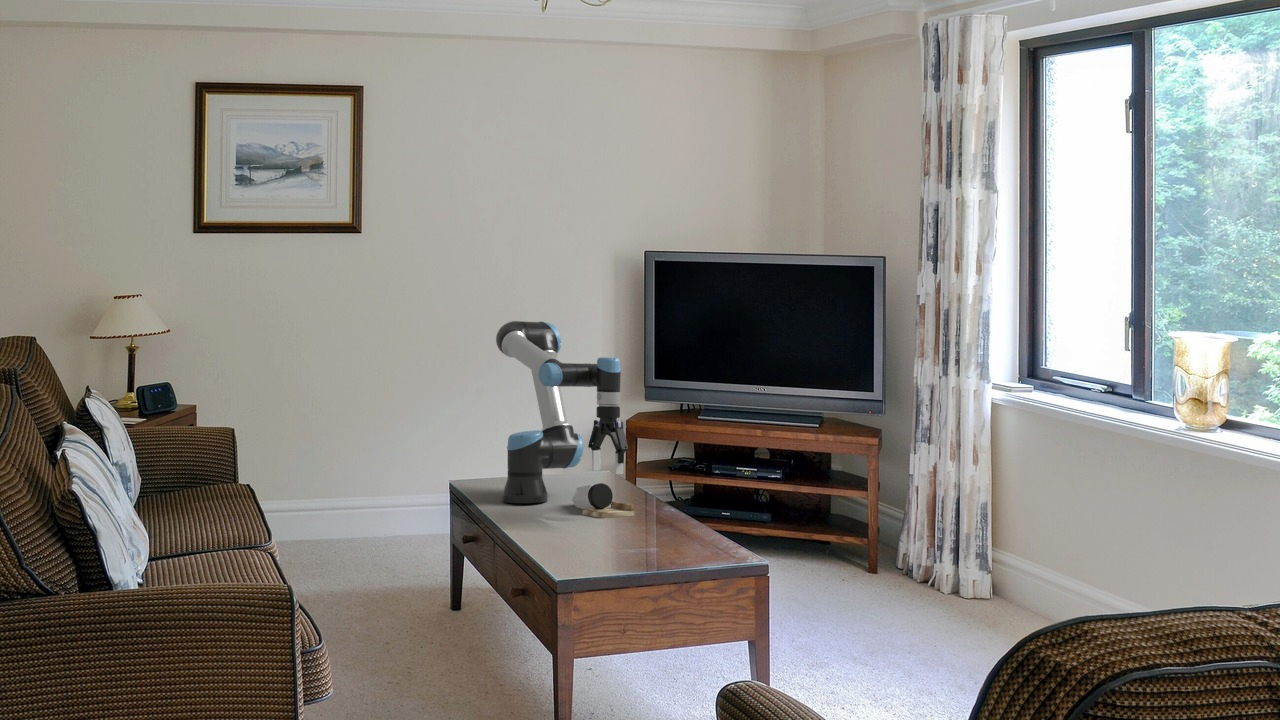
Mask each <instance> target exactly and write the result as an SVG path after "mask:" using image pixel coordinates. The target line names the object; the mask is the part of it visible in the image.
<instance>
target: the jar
mask: <svg viewBox="0 0 1280 720" xmlns="http://www.w3.org/2000/svg"><path fill="white" fill-rule="evenodd" d="M613 496H614V495H613V492H612V489H611V488H610V486H609V485H607V484H606V483H604V482H600V483H595V484H587V485H584V486H579V487H576V488H575V491H574V494H573V496H572V499H571V501H572V503H573V505H574V506H575V508H579V509H581V510H583V509H603V508H609V506H611V502H613V498H614V497H613Z"/></svg>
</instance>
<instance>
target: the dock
mask: <svg viewBox="0 0 1280 720" xmlns="http://www.w3.org/2000/svg"><path fill="white" fill-rule="evenodd" d="M581 511H582V513H583V514H582V515H584V514H585V515H584V516H589V517H594V518H599V519H610V518H620V517H621V518H622V517H623V518H624V517H635V504H632V503H626V502H625V503H624V502H619V501H612V502H611V504H610V507H606V508H603V509H581Z"/></svg>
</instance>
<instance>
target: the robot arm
mask: <svg viewBox="0 0 1280 720" xmlns="http://www.w3.org/2000/svg"><path fill="white" fill-rule="evenodd" d="M496 333H497V334H496V336H495V344H496V347H497V348H498V350H499V351H500V352H501V353H502V354H503V355H505V356H506V357H509V358H514V359H516V360H517V361H518V362H519V363H521V364H523V365H524V366H526V368H529V369H530V371H531V375H532V381H533V385H534V390H535V394H536V395H535V396H536V400H537V405H538V410H539V415H540V420H541V424H542V428H541V430H527V431H526V430H525V431H519V432H514V433H512V434H510V435H509V436H508V438H507V447H506V448H507V449H506V450H507V480H506V482H505V485H504V489H503V491H502V494H501V500H502V502H503V503H509V504H537V503H538V504H539V503H546V502H548V501H549V500H548V491H547V487H546V486H545V482H544V479H543V469H544V470H546V469H547V470H548V469H549V470H551V469H552V470H553V469H568V468H575V467H576V466H578V465H579V463H580V462H581V461H582V457H583V454H584V448H585V447H584V441H583V437H582V436H581V435H580V433H579V434H578V433H577V432H575V430H574V427H573V424H570V423H569V422H568V419H567V415H566V410H565V406H564V405H565V404H564V401H563V397H562V396H563V395H562V392H561V387H563V388H565V387H567V388H568V387H576V388H577V387H580V388H581V387H583V388H592V387H593V388H594V387H595V388H596V405H598V406H597V407H596V417H597V418H598V419H594V420H593V427H592V430H591V435H590V437H589V440H588V441H589V442H588V446H587V447H588V448H589V449H591V451H592V452H591V453H592V454H591V457H592V460H591V461H592V462H591V463H592V465H591V466H592V469H591V470H592V472H593V471H598V472H599V471H601V469H602V468H601V465H602V464H601V462H602V461H601V459H602V455H601V454H602V449H601V446H602V444H603V443H604V440H605V439H606V437H607V436H608V437H610V439H611V442H612V444H613V446H614V449H615V452H614V474H615V475H621V474H622V475H623V474H624V464H625V453H626V452H628V451H629V446H628V441H627V438H626V434H625V429H624V422H623V421H622V420H620V421H619V420H617V419H620V418H621V407H620V406H619V405H621V371H622V369H621V360H620V358H619V357H610V356H609V357H608V356H607V357H605V356H603V357H598V358H597V360H596V363H589V362H588V363H586V362H585V363H568V362H567V363H566V362H561V361H560V360H558V359H557V357H558V353H560V351H561V347H562V346H561V343H562V338H561V334H560V331H559V329H558V328H557V326H555V324H553V323H550V322H545V321H520V320H514V321H508V322H507V323H505V324H503V325H502V326H501V327H500V328H499V330H498V331H497V332H496Z"/></svg>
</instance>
